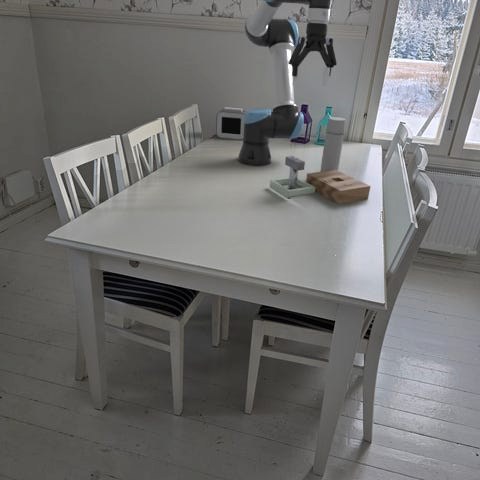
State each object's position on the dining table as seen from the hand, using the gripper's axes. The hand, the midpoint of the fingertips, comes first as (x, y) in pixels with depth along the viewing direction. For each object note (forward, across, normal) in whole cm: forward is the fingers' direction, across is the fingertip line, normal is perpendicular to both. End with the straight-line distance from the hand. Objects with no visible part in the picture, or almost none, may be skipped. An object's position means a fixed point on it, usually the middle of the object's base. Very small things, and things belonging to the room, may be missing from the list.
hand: (310, 85), depth 158 cm
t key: (+36, -12, -12) cm, 40 cm away
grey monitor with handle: (+37, +5, +73) cm, 82 cm away
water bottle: (+37, +11, -5) cm, 39 cm away
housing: (+37, +2, -21) cm, 42 cm away
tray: (+37, -12, -12) cm, 40 cm away
